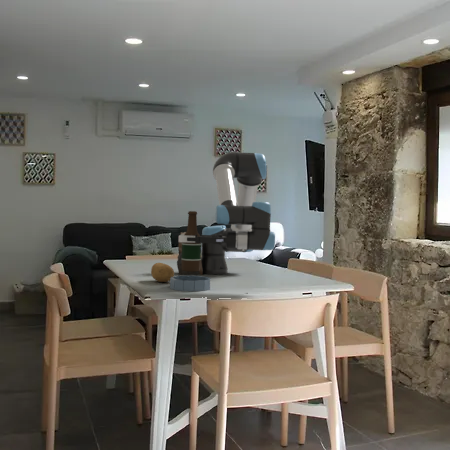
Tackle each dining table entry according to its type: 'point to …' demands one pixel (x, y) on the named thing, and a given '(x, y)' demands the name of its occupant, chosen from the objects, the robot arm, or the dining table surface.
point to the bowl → (190, 283)
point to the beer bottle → (191, 247)
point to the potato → (162, 272)
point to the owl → (181, 263)
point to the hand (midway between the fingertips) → (179, 238)
